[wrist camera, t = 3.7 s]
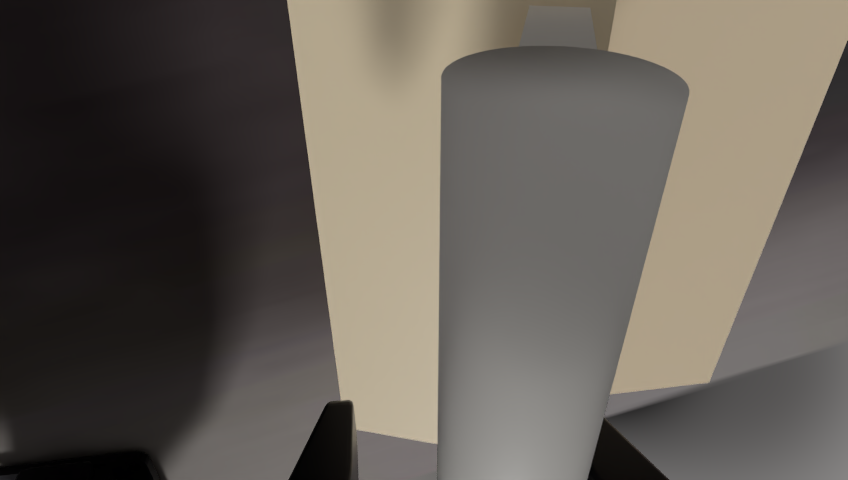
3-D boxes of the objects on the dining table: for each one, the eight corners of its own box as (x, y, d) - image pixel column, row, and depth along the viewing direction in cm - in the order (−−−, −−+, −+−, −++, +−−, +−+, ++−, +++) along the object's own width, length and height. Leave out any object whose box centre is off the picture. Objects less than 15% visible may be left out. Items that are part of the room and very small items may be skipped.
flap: (540, 447, 16) (527, 751, 11) (349, 414, 17) (246, 676, 12) (634, -86, 9) (753, 5, 3) (287, -88, 10) (-82, -23, 4)
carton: (642, 293, 23) (710, 386, 19) (344, 323, 21) (348, 430, 17) (753, -116, 15) (912, -109, 11) (294, -110, 13) (279, -100, 9)
